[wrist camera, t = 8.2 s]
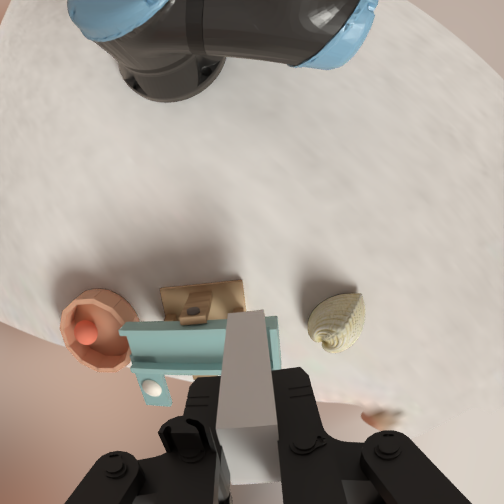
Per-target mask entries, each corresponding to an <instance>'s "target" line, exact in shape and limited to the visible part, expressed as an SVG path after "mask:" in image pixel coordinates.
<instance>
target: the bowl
mask: <svg viewBox="0 0 504 504" xmlns="http://www.w3.org/2000/svg"><path fill="white" fill-rule="evenodd" d="M82 320H88V321H91V322H92V323H94V325H95V326H96V328H97V331H98V336H97V339H96V341H95V342H94V343H92V344H90V345H83V344H81V343H79V342H78V341H77V339H76V338H75V335H74V329H75V326H76V324H77V323H78V322H80V321H82ZM126 322H140V321H139V318H138V316H137V314H136V312H135V311H134V309H133V308H132V306H131V305H130V304H129V303H128V302H127V301H126V300H125V299H124V298H123V297H121V296H120V295H118V294H116V293H114V292H112V291H110V290H106V289H91V290H88V291H84V292H83V293H82V294H81V295H80V296H78V297H77V298H76V299H75V300H73V301H72V302H71V303H70V304H69V305H68V306H67V307H66V308H65V309H64V310H63V311H62V316H61V323H60V331H61V334H62V337H63V340H64V342H65V345H66V348H67V349H68V350H69V351H70V352H71V353H72V354H73V356H74V357H75V358H76V359H77V360H78V361H79V362H80V363H81V364H83V365H85V366H87V367H89V368H91V369H93V370H95V371H97V372H117V371H119V370H120V369H122V368H123V367H125V366H126V365H128V364H129V363H130V362H131V359H130V354H131V353H132V352H131V349H130V346H129V343H128V339H127V336H120V335H119V331H118V330H119V329H120V328H121V327H122V326H123V325H124V324H125V323H126Z"/></svg>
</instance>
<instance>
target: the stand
mask: <svg viewBox="0 0 504 504" xmlns="http://www.w3.org/2000/svg"><path fill="white" fill-rule="evenodd" d="M160 293H161V298H162V303H163V307H164V312H165V316H166V318H165V320H164V321H180V324H181V325H191V324H203V323H207V320H218V319H227V317H228V313H237V312H246V305H245V298H244V290H243V282H242V280H234V281H224V282H215V283H205V284H195V285H185V286H175V287H165V288H161V289H160ZM192 376H193V380H196V379H197V377H211V376H218V375H192Z"/></svg>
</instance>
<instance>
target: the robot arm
mask: <svg viewBox="0 0 504 504" xmlns="http://www.w3.org/2000/svg"><path fill="white" fill-rule="evenodd" d="M377 5H378V0H68V1H67V7H68V13H69V16H70V18H71V20H72V21H73V22H74V24H75V25H76V26H77V27H78V28H79V29H80V30H81V32H82V33H83V35H84V36H85V37H86V38H87V39H89V40H92V41H94V42H95V43H96V44H97V45H99V46H100V47H101V48H103V49H104V50H105V51H107V52H108V53H109V54H110V55H112V56H113V57H114V58H115V59H117V60H118V64H119V69H120V73H121V75H122V77H123V79H124V81H125V82H126V84H127V85H128V86H129V87H130V88H131V89H132V90H133V91H135V92H136V93H138V94H139V95H140V96H142V97H144V98H146V99H149V100H152V101H156V102H165V103H166V102H177V101H182V100H185V99H188V98H190V97H193V96H195V95H197V94H198V93H200V92H202V91H203V90H204V89H206V88H207V87H208V86H209V85H210V84H211V83H212V82H213V81H214V80H215V79H216V78H217V76H218V75H219V73H220V72H221V70H222V68H223V66H224V63H225V59H226V57H236V58H246V59H255V60H263V61H270V62H277V63H284V64H287V65H288V66H290V67H294V68H297V67H308V68H315V69H321V70H330V69H335V68H339V67H341V66H343V65H344V64H345V63H347V62H348V61H349V60H350V59H351V58H352V57H353V56H354V55H355V54H356V52H357V51H358V50H359V48H360V47H361V45H362V44H363V42H364V40H365V38H366V37H367V35H368V33H369V30H370V28H371V26H372V23H373V20H374V17H375V15H374V12H373V11H374V9H375V8H376V6H377ZM187 397H188V399H187V401H186V408H185V410H184V414H183V416H178V417H175V418H173V419H170V420H168V421H167V422H166V423H164V424H163V425H162V426H161V428H160V430H159V431H158V434H159V436H160V438H161V441H162V443H163V445H164V447H165V450H166V453H164V454H162V455H160V456H156V457H153V458H147V459H142V460H136V459H135V457H134V456H133V455H131V454H129V453H127V452H122V451H115V452H109V453H107V454H105V455H103V456H101V457H100V458H99V459H98V460H97V461H96V462H95V464H94V465H93V466H92V468H91V469H90V471H89V472H88V473H87V474H86V476H85V477H84V479H83V480H82V481H81V482H80V484H79V485H78V486H77V488H76V489H75V490H74V492H73V493H72V495H71V496H70V497H69V498H68V500H67V501H66V502H65V504H232V496H231V493H230V479H231V483H232V485H237V484H256V483H268V482H279V481H281V483H282V493H283V503H284V504H472V503H471V502H470V501H469V500H468V499H467V498H466V497H465V496H464V495H463V494H462V493H461V492H460V491H459V490H458V489H457V488H456V487H455V486H454V485H453V484H452V483H451V481H450V480H449V479H448V478H447V477H445V475H444V474H443V473H442V472H441V471H440V470H439V469H438V468H437V467H436V466H435V465H434V464H433V463H432V462H431V460H430V459H428V458H427V457H426V455H425V454H424V453H423V452H422V451H421V450H420V449H419V448H418V447H417V446H416V445H415V444H414V443H413V441H412V440H411V439H410V438H409V437H407V436H406V435H404V434H403V433H400V432H397V431H381V432H377V433H374V434H373V435H372V436H370V437H368V438H367V440H366V441H365V442H364V443H357V442H344V441H340V440H337V439H334V438H332V437H331V436H329V435H328V434H327V433H326V432H325V431H324V428H323V426H322V422H321V419H320V415H319V412H318V408H317V405H316V400H315V397H314V393H313V390H312V387H311V382H310V379H309V375H308V374H307V373H306V372H305V371H304V370H303V369H302V368H301V367H296V368H288V369H280V370H271V365H270V357H269V348H268V340H267V332H266V323H265V315H264V310H257V311H247V312H237V313H228V317H227V326H226V335H225V344H224V353H223V362H222V372H221V376H211V377H197V379H196V380H195V381H194V382H193V383H192V384H191V386H190V387H189V392H188V396H187Z"/></svg>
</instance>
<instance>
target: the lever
mask: <svg viewBox="0 0 504 504" xmlns="http://www.w3.org/2000/svg"><path fill="white" fill-rule="evenodd" d="M265 323H266V332H267V340H268V348H269V357H270V365H271V370H280V369H281V353H280V341H279V329H278V318H277V316H269V317H265ZM226 326H227V319H218V320H207V323H203V324H191V325H181V324H180V321H154V322H126V323H125V324H124V325H123V326H122V327H121V328H120V329H119V330H118V331H119V335H120V336H127V339H128V343H129V346H130V349H131V352H132V353H131V354H130V359H131V362H132V366H131V367H130V369H131V372H132V373H135V374H136V377H137V380H138V383H139V386H140V388H141V391H142V394H143V397H144V399H145V402H146V404H147V405H156V406H171V405H172V400H171V397H170V393H169V390H168V387H167V384H166V380H165V377H164V374H165V375H221V372H222V362H223V353H224V344H225V335H226Z"/></svg>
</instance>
